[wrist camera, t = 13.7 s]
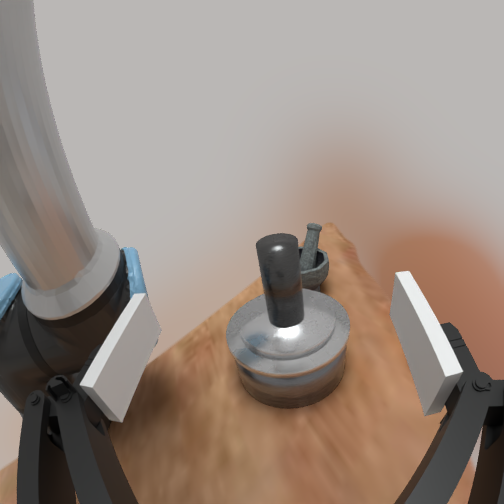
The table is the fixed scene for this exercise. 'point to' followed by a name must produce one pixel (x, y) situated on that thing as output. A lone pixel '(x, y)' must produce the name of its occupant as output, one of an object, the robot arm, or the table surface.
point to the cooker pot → (292, 367)
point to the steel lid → (285, 306)
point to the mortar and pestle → (313, 260)
